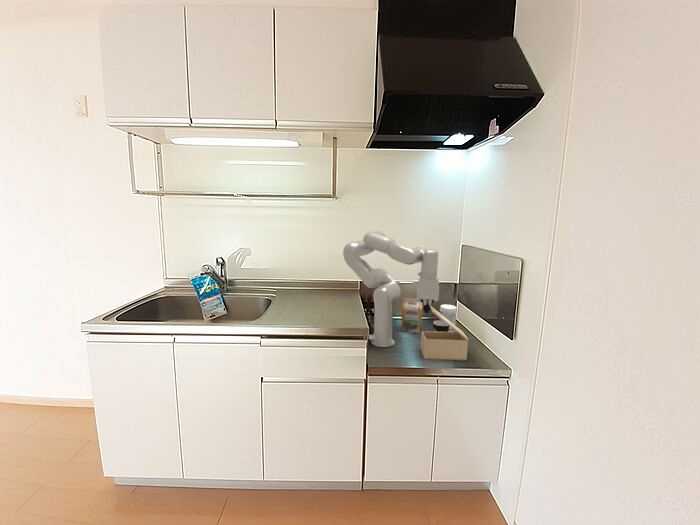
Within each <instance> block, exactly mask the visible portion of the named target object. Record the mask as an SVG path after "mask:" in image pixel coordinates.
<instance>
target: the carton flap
mask: <svg viewBox="0 0 700 525" xmlns="http://www.w3.org/2000/svg"><path fill="white" fill-rule="evenodd" d="M430 311H431V312H432V313H433V314H434V315H435V316H437V317H438V318H440V319H442V320H443V321H444V322H445V323H447V324H448V325H449V326H450V327H452V328H453V329H454V330H455V331H454V332H458V333H459V334H460V335H462V336H463V337H464V338H465V339H467V340H468V341H469V340H470V339H469V338H468V337H467V335H466V334H465V333H464V331H462V329H460V328H459V327H458V326H456V324H455V325H454V324H453V323H451V322H450V321H449V320H448V319H446V318H445V317H444V316H443V315H441V314H440V311H438V310H436V309H435V308H434V307H433V306H432V305H430Z"/></svg>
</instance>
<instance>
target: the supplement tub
mask: <svg viewBox="0 0 700 525" xmlns="http://www.w3.org/2000/svg"><path fill="white" fill-rule="evenodd" d="M439 313H440V314H441V315H443V316H444V317H445V318H446V319H448V320H449V321H450V322H451V323H453V324H454V325H455V326H456V322H457V306H456V305H452V304H445V303H444V304H441V305H440V306H439ZM438 318H439V317H438ZM438 321H443V320H442V319H440V318H439V319H438ZM448 332H456V331H455V330H454V329H453V328H452V327H450V326H449V331H448Z"/></svg>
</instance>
